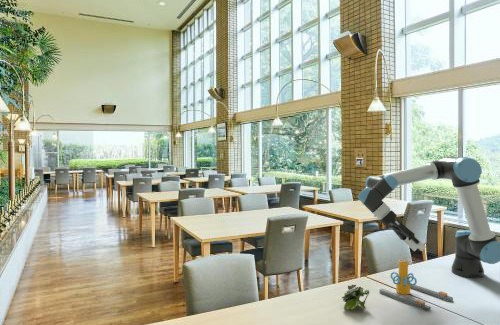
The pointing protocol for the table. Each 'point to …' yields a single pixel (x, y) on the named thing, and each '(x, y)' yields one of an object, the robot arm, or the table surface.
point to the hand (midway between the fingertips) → (420, 249)
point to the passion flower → (354, 297)
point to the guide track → (418, 303)
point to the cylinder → (403, 278)
